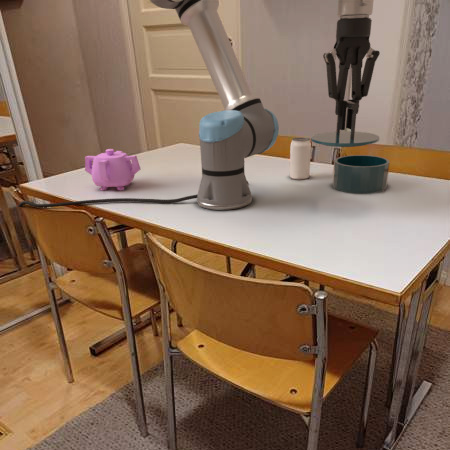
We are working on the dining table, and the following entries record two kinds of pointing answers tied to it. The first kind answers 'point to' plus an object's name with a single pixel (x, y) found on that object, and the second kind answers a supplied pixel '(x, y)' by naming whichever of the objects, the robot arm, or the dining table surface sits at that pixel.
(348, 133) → the lid
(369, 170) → the pot
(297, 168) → the can
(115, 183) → the pot
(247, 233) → the dining table surface
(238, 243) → the dining table surface
